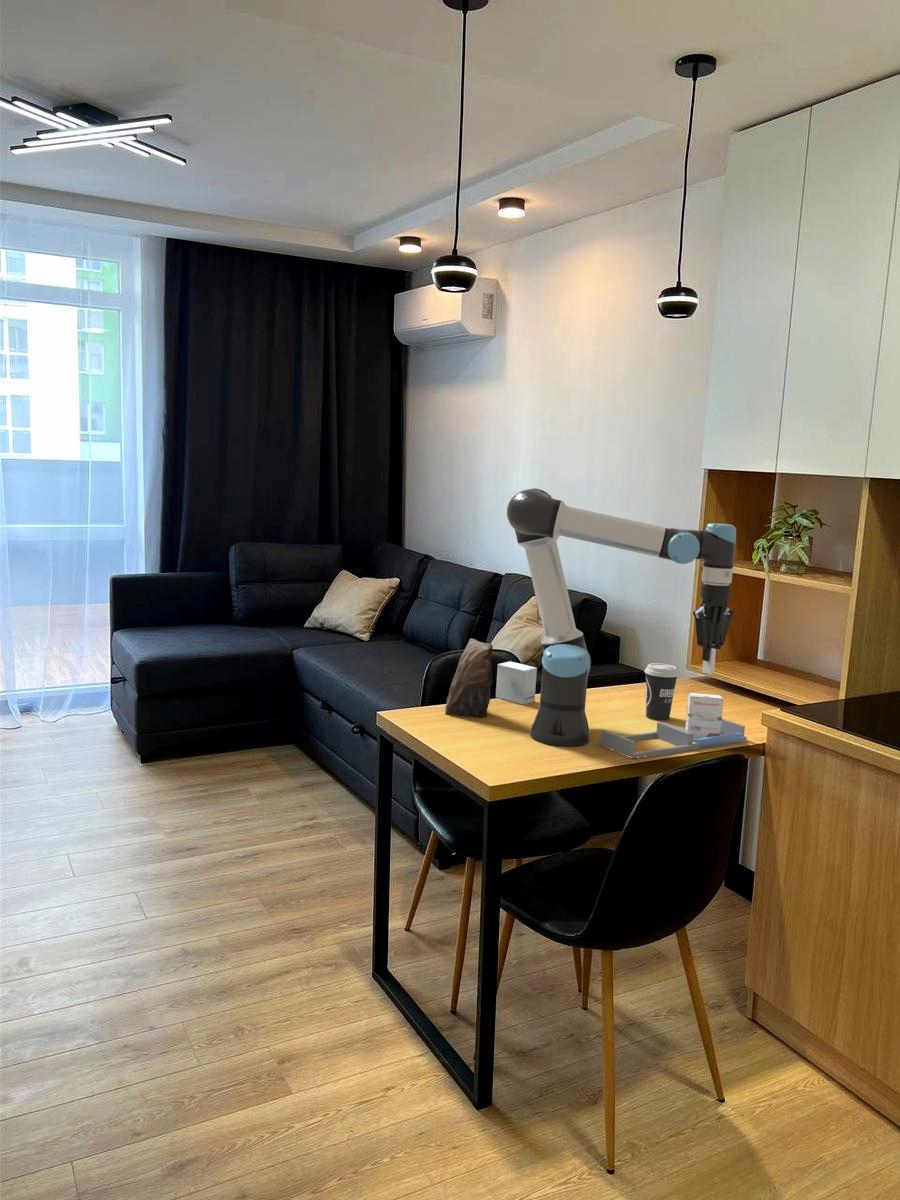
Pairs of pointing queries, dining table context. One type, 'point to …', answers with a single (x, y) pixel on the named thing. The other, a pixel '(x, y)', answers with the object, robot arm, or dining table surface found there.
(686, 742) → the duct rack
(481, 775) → the dining table surface
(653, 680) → the coffee cup
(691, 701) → the ink box
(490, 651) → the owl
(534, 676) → the skincare box
